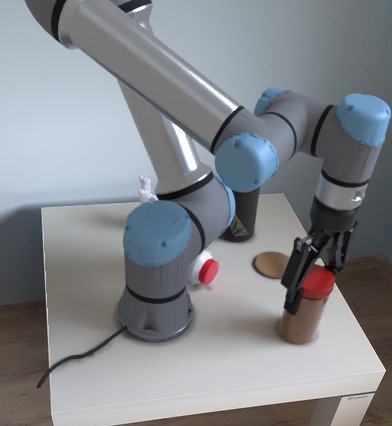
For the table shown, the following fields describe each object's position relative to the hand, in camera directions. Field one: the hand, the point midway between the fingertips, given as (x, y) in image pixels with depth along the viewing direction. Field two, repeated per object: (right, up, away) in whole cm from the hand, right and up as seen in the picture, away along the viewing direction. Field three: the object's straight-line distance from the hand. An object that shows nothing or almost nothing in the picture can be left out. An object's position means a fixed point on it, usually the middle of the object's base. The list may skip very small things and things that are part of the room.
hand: (305, 302), depth 101 cm
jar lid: (0, +4, -5) cm, 6 cm away
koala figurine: (-33, +21, +26) cm, 47 cm away
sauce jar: (-1, -5, +6) cm, 8 cm away
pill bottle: (-27, +12, +14) cm, 33 cm away
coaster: (-3, +10, +19) cm, 22 cm away
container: (-11, +19, +27) cm, 35 cm away
